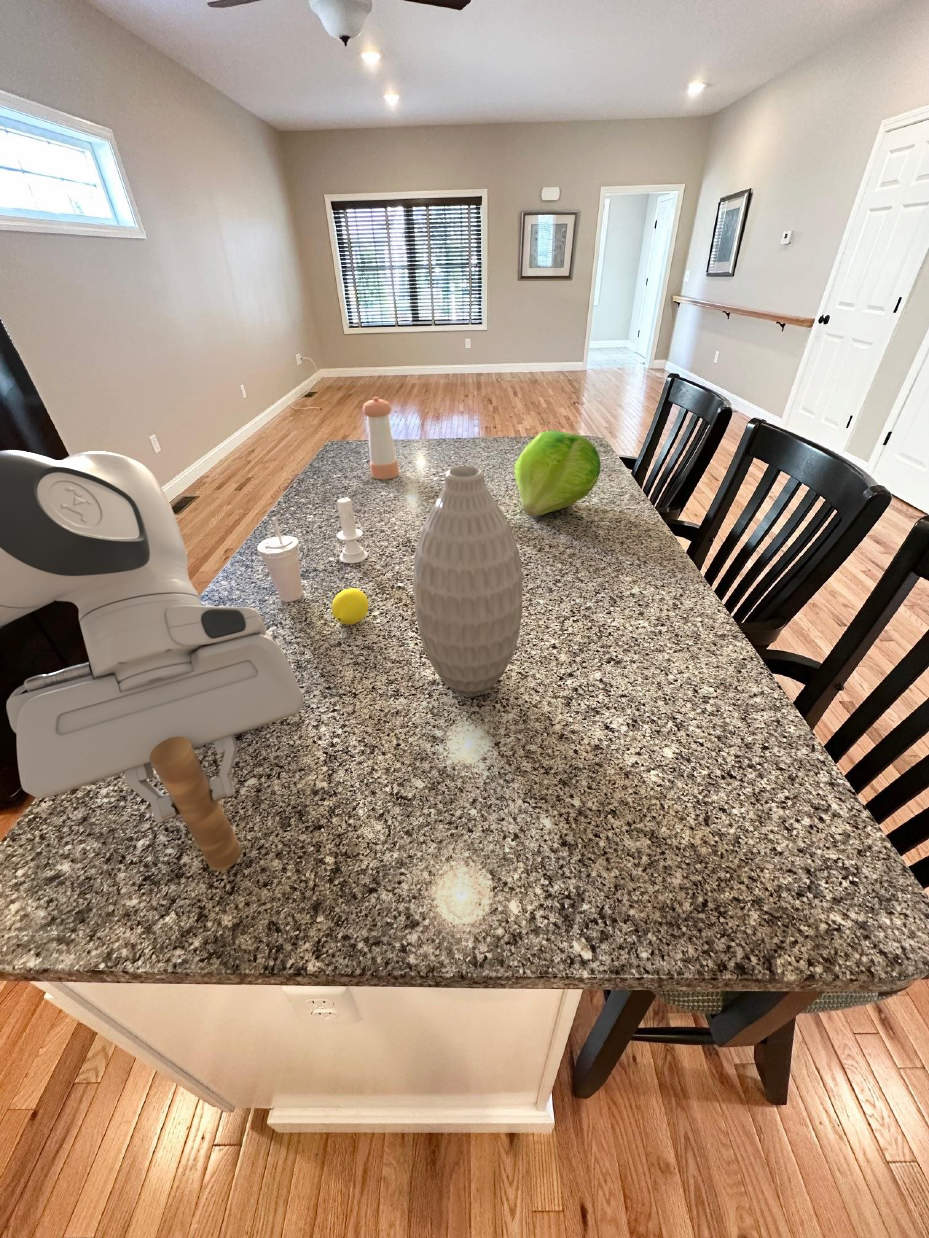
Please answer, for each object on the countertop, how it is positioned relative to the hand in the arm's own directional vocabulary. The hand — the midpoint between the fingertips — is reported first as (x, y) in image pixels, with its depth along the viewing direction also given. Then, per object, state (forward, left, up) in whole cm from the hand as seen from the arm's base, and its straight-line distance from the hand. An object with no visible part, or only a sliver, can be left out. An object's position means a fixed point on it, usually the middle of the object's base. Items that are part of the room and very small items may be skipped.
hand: (197, 808), depth 41 cm
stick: (0, +1, -8) cm, 8 cm away
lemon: (+24, +33, -11) cm, 42 cm away
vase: (+32, +11, -11) cm, 36 cm away
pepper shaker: (+56, +92, -11) cm, 108 cm away
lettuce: (+78, +50, -11) cm, 93 cm away
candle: (+32, +53, -11) cm, 63 cm away
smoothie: (+18, +46, -11) cm, 50 cm away
